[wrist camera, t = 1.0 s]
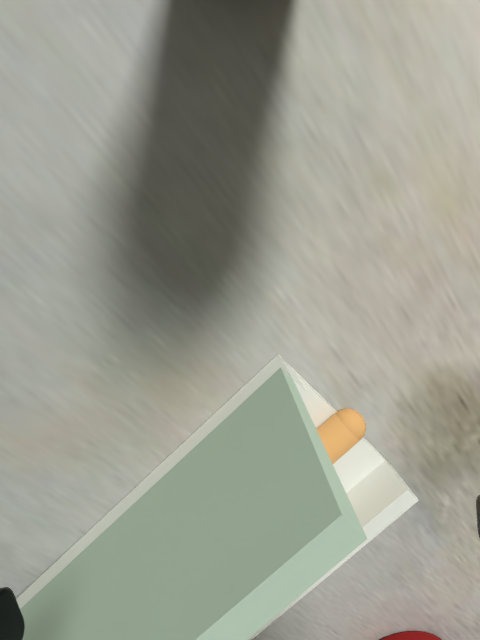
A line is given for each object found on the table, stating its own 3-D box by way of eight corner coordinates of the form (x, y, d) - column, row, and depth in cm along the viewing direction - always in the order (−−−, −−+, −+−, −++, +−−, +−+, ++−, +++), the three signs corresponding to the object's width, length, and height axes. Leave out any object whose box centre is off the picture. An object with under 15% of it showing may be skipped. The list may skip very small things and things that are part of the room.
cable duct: (-2, 614, 24) (-27, 671, 21) (278, 354, 21) (292, 378, 19) (131, 686, 27) (125, 745, 24) (391, 464, 24) (418, 500, 21)
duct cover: (-28, 674, 21) (-57, 653, 21) (293, 379, 18) (265, 351, 18) (-254, 1059, 11) (-315, 1029, 11) (367, 539, 9) (308, 482, 8)
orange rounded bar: (44, 664, 25) (34, 699, 23) (343, 395, 22) (357, 412, 20) (68, 677, 25) (60, 712, 23) (364, 416, 23) (378, 434, 21)
